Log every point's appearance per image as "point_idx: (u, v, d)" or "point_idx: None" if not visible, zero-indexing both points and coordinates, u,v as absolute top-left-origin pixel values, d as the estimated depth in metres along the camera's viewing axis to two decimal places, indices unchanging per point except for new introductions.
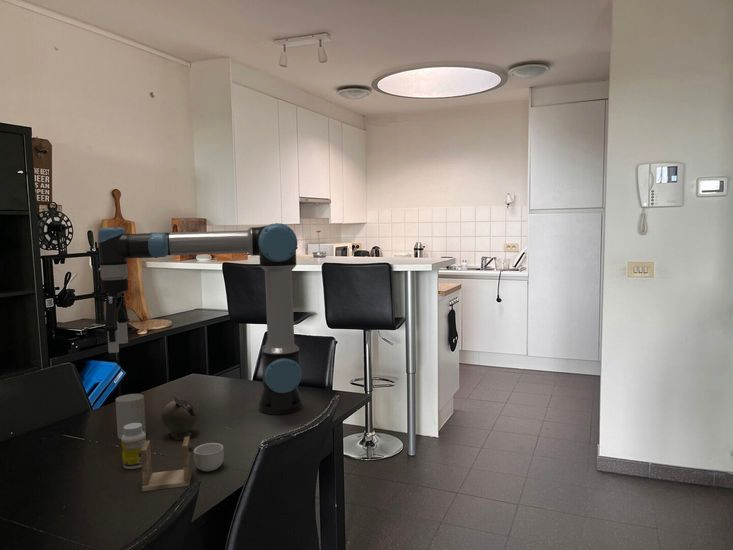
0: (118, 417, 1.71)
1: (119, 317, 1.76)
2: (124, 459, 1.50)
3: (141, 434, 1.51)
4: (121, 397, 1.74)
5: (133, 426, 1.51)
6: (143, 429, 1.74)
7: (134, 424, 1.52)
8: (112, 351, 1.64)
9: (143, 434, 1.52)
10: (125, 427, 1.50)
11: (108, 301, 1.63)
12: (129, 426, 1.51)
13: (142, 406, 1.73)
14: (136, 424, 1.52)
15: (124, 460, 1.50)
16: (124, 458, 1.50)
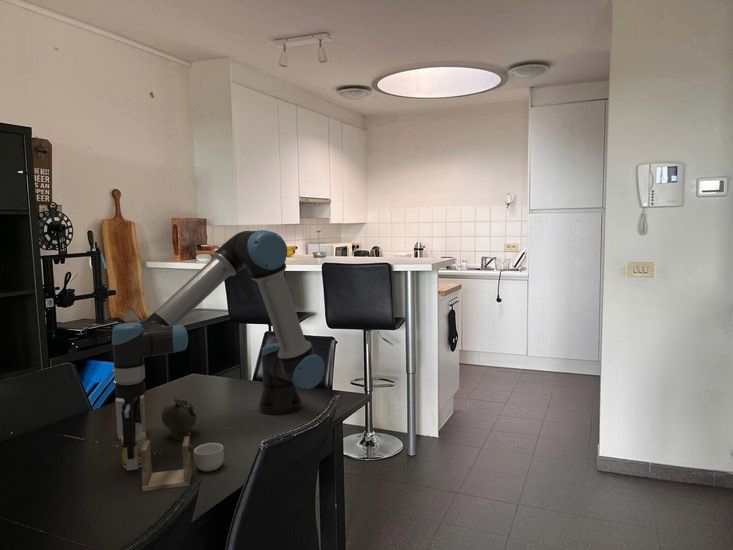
0: (118, 417, 1.71)
1: None
2: (124, 459, 1.50)
3: (141, 434, 1.51)
4: None
5: None
6: (143, 429, 1.74)
7: None
8: (130, 468, 1.49)
9: (143, 434, 1.52)
10: None
11: (124, 416, 1.45)
12: None
13: (142, 406, 1.73)
14: (136, 424, 1.52)
15: (124, 460, 1.50)
16: (124, 458, 1.50)
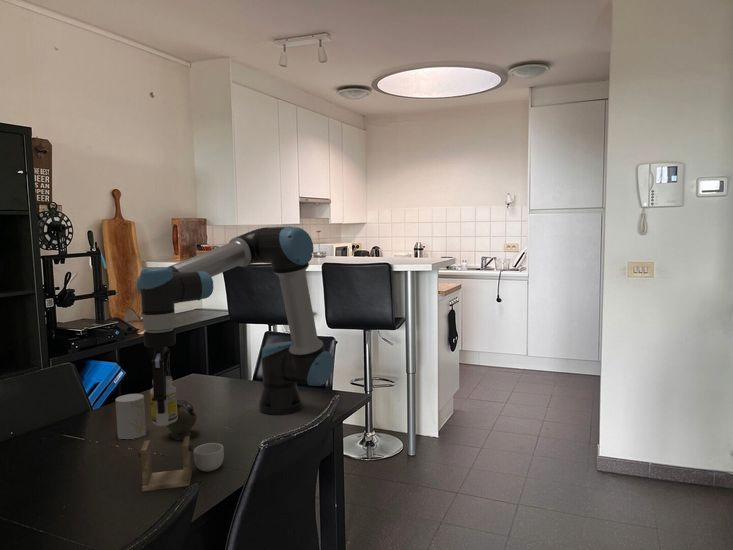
0: (118, 417, 1.71)
1: None
2: (153, 414, 1.38)
3: (171, 387, 1.39)
4: (121, 397, 1.74)
5: None
6: (143, 429, 1.74)
7: None
8: (161, 424, 1.37)
9: (173, 388, 1.40)
10: None
11: (154, 365, 1.33)
12: None
13: (142, 406, 1.73)
14: (166, 377, 1.41)
15: (153, 415, 1.38)
16: (153, 413, 1.38)
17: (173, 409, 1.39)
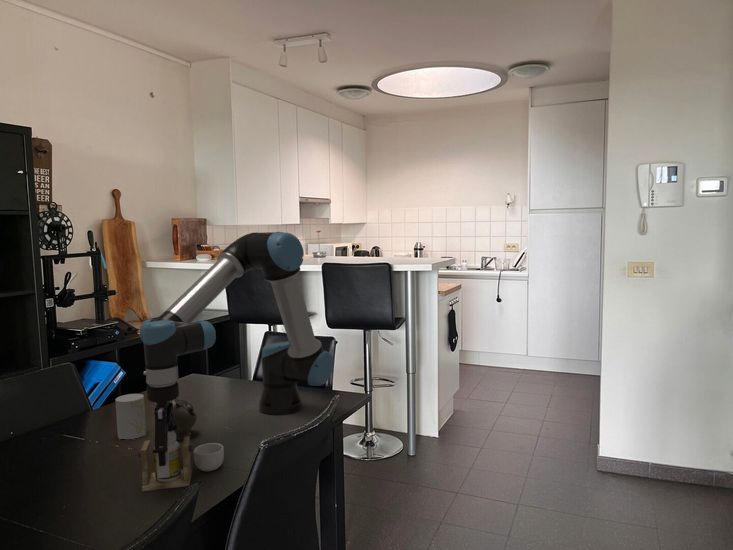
0: (118, 417, 1.71)
1: None
2: None
3: (175, 444, 1.41)
4: (121, 397, 1.74)
5: None
6: (143, 429, 1.74)
7: None
8: (162, 476, 1.35)
9: (177, 444, 1.41)
10: None
11: (157, 416, 1.34)
12: None
13: (142, 406, 1.73)
14: (170, 433, 1.42)
15: None
16: None
17: (176, 465, 1.40)
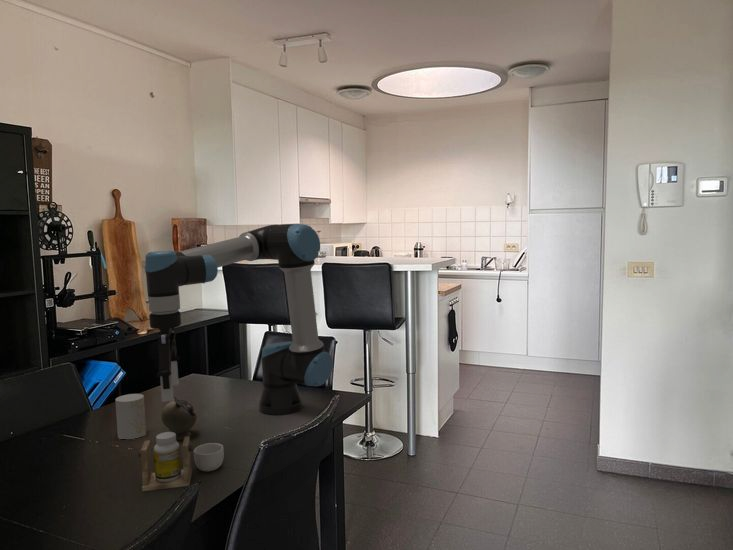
0: (118, 417, 1.71)
1: None
2: (157, 471, 1.39)
3: (175, 444, 1.41)
4: (121, 397, 1.74)
5: (167, 435, 1.41)
6: (143, 429, 1.74)
7: (167, 433, 1.42)
8: (166, 399, 1.38)
9: (177, 444, 1.41)
10: (158, 437, 1.40)
11: (161, 340, 1.37)
12: (162, 436, 1.41)
13: (142, 406, 1.73)
14: (170, 433, 1.42)
15: (157, 472, 1.39)
16: (157, 470, 1.39)
17: (176, 465, 1.40)
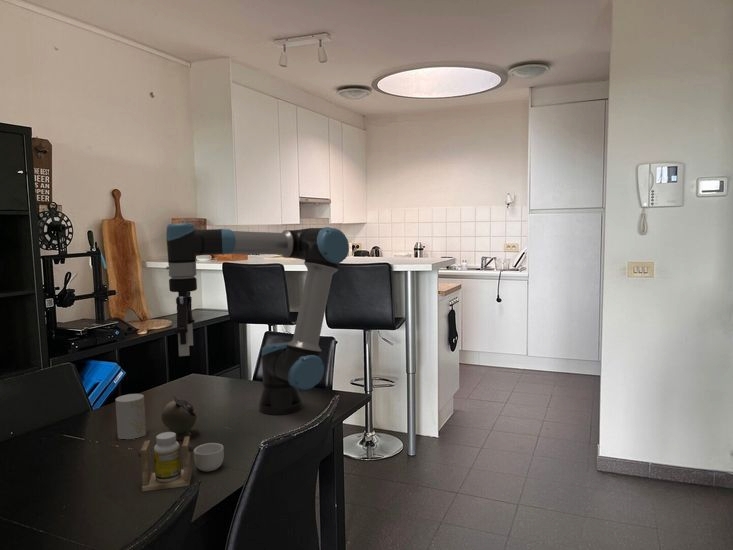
0: (118, 417, 1.71)
1: None
2: (157, 471, 1.39)
3: (175, 444, 1.41)
4: (121, 397, 1.74)
5: (167, 435, 1.41)
6: (143, 429, 1.74)
7: (167, 433, 1.42)
8: (183, 354, 1.55)
9: (177, 444, 1.41)
10: (158, 437, 1.40)
11: (179, 301, 1.54)
12: (162, 436, 1.41)
13: (142, 406, 1.73)
14: (170, 433, 1.42)
15: (157, 472, 1.39)
16: (157, 470, 1.39)
17: (176, 465, 1.40)
